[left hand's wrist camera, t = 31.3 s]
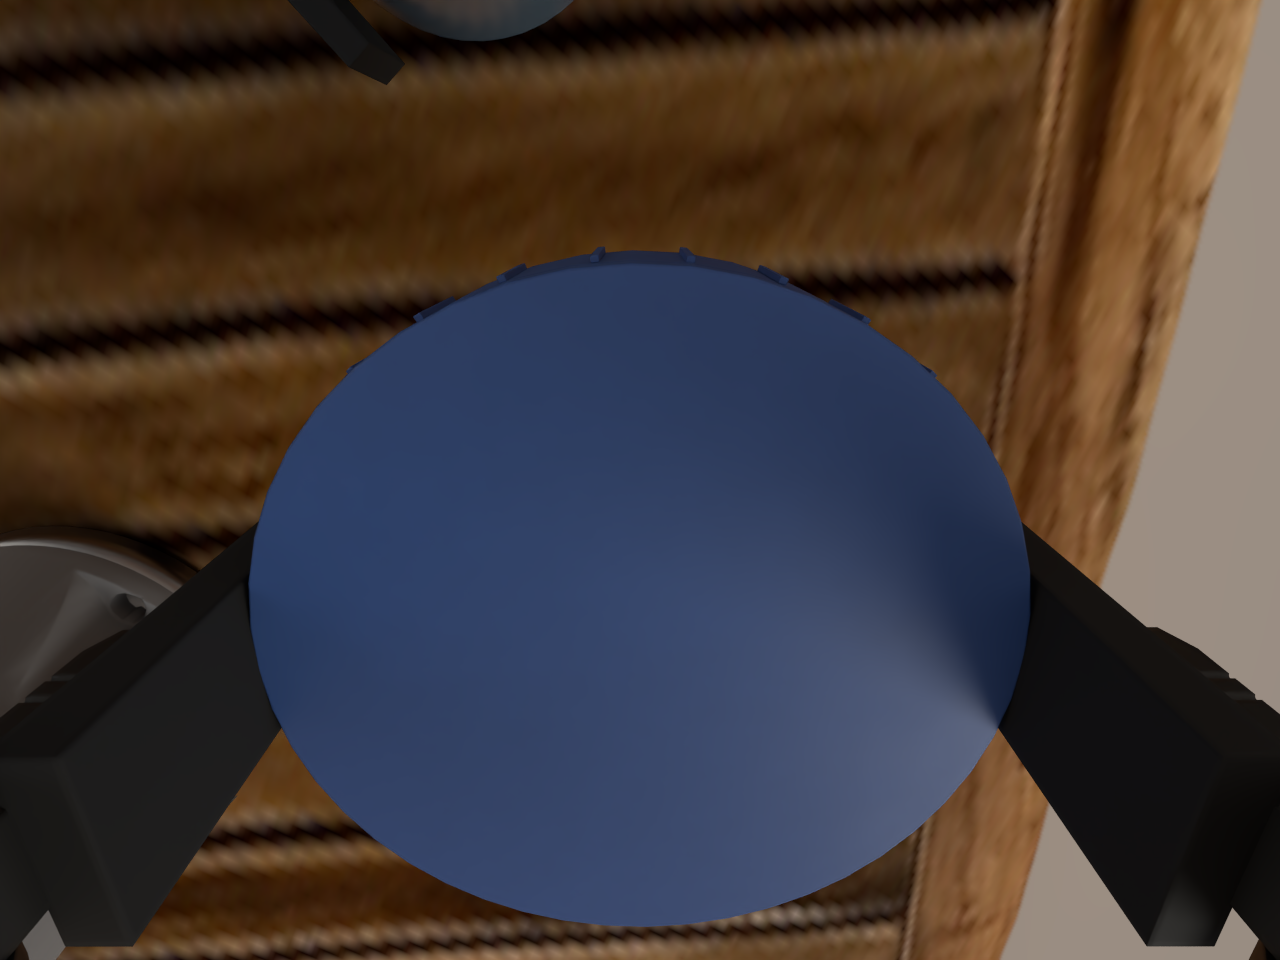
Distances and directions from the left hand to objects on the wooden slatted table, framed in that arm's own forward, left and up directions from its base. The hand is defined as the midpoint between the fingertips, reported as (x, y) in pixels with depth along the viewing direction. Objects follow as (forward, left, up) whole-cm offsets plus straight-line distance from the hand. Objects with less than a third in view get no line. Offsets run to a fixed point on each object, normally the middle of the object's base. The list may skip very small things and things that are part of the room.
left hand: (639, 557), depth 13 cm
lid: (0, 0, +3) cm, 3 cm away
